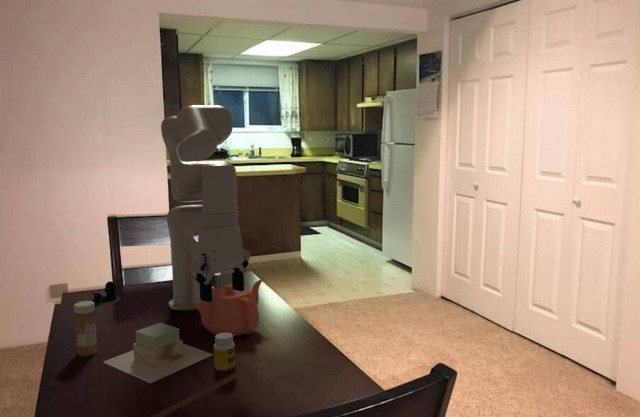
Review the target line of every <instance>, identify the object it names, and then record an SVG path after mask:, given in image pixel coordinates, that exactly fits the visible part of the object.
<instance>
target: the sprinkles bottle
mask: <svg viewBox="0 0 640 417" xmlns="http://www.w3.org/2000/svg"><path fill="white" fill-rule="evenodd" d="M95 310H96V305H95V304H94V302H93V301H91V300H83V301H79V302H76V303H75V304H73V311H74V314H75V330H76V333H75V334H76V345H77V355H78V356H80V357H88V356H89V357H90V356H92V355H95V354H96V353H97V352H98V350H97V348H98V347H97V341H98V340H97V328H96V327H97V326H96V317H95V316H96V314H95Z"/></svg>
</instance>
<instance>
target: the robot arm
mask: <svg viewBox="0 0 640 417" xmlns="http://www.w3.org/2000/svg"><path fill="white" fill-rule="evenodd" d="M233 121H234V119H233V116H232V113H231V112H230V110H229V109H228V108H227V107H225V106H224V105H212V104H211V105H210V104H209V105H208V104H206V105H203V104H202V105H201V104H195V105H194V104H192V105H186V106H184V107H182V108H181V109H180V110H179V111H178V113H177V115H172V116H168V117H167V116H166V117H165V118H163V120H162V121H161V124H160V130H161V137H162V140H163V143H164V145H165V147H166V149H167V153H168V155H169V168H170V169H169V171H170V172H169V173H170V189H171V190H170V191H171V196H172V198H173V200H175V201H176V202H180V203H194V202H201V204H187V205H186V204H185V205H178V206H174V207H172V208H170V210H169V211H168V212H167V213H166V214H167V215H166V222H167V223H166V224H167V229H168V233H169V239H170V249H171V250H170V251H171V268H172V269H171V270H172V272H171V273H172V290H173V291H172V292H173V293H172V294H173V296H172V297H173V298H172V299H171V300H169V302H168V307H169V308H170V309H171V310H174V311H180V312H181V311H182V312H183V311H184V312H185V311H195V310H197V311H198V308H197V305H198V303H199V302H201V301H206V302H212V290H215V289H216V287H215V286H213V284H212V283H210V282H211V280H212V279H213V276H214V275H216V274H217V275H218V274H220V273H224V272H227V271H230V270H233V272H232V273H231V279H232V280H231V284H232V288H233V289H234V290H237V291H244V289H245V277H244V276H245V274H246V272H247V270H246V269H247V267H248V266H249V260H250V257H251V254H252V253H251V251H249V250H246V249H244V248H243V239H242V233H241V228H240V225H239V222H238V218H239V217H240V214H239V211H238V193H237V192H238V191H237V188H238V187H237V169H236V167H235V166H234V164H232V163H230V162H229V161H226V160H211V161H210V160H206V159H207V158H210V157H211V156H213V154H214V153H215V152H216V151H217V149H218V146H219V145H221V144H223V143H224V142H225V141H226V140H227V139H228V138H229V137H230V136H231V134H232V132H233V129H234V128H233V127H234V122H233ZM195 237H197V238H198V239H197V240H196V239H195Z"/></svg>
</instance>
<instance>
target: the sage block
mask: <svg viewBox="0 0 640 417" xmlns="http://www.w3.org/2000/svg"><path fill="white" fill-rule="evenodd" d="M180 340H181V339H180V328H178V327H175V326H173V325H169V324H166V323H164V322H159V323H158V322H157V323H156V324H151V325H149V326H147V327H143V328H141V329H138V330H135V343H136V344H139V345H141V346H144V347H147V348H149V349H152V350H158V349H160V348H163V347H165V346H168V345H170V344H173V343H175V342H178V341H180Z"/></svg>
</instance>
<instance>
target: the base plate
mask: <svg viewBox="0 0 640 417" xmlns="http://www.w3.org/2000/svg"><path fill="white" fill-rule="evenodd" d="M212 356H214V353H210V352H208V351H205V350H202V349H199V348H196V347H194V346H191V345H188V344H185V343H183V357H181V358H179V359H176V360H174V361H172V362H170V363H167V364H165V365H163V366H160V367H158V368H156V369H155V368H153V367H150V366H148V365H145V364H143V363H141V362H138V361H136V360H134V350H133V349H132V350H129V351H127V352H125V353H123V354H120V355H119V354H118V355H117V356H115V357H112V358H110V359H107V360H104V361H102V363H104V364H106V365H108V366H110V367H113V368H114V369H116V370H119V371H121V372H124V373H126V374H128V375H131V376H133V377H135V378H137V379H139V380H141V381H144V382H146V383H148V384H152V383H154V382H156V381H159V380H161V379H164V378H165V377H168V376H170V375H172V374H175V373H177V372H178V371H181V370H183V369H185V368H187V367H190V366H192V365H193V364H196V363H198V362H200V361H202V360H205V359H207V358H209V357H212Z"/></svg>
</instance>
